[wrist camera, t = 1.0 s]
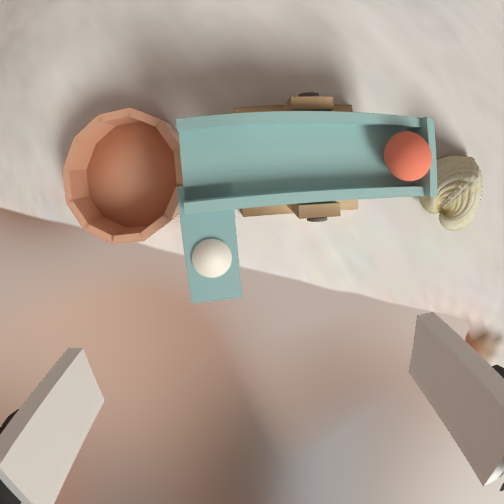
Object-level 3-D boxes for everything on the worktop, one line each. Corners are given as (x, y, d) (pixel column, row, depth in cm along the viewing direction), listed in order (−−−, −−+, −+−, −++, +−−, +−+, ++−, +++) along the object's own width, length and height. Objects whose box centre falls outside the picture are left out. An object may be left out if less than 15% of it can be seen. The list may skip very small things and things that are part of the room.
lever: (172, 124, 22) (167, 118, 19) (410, 121, 25) (433, 118, 21) (192, 298, 26) (191, 316, 23) (411, 267, 28) (432, 278, 25)
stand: (234, 109, 30) (229, 89, 21) (349, 106, 30) (384, 88, 21) (242, 215, 33) (241, 234, 24) (355, 208, 33) (391, 224, 24)
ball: (372, 131, 23) (408, 127, 19) (405, 134, 24) (439, 132, 21) (374, 180, 24) (410, 183, 20) (407, 179, 25) (442, 182, 22)
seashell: (404, 197, 30) (451, 141, 25) (414, 180, 37) (451, 136, 31) (455, 250, 29) (505, 200, 24) (457, 224, 35) (496, 182, 30)
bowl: (79, 128, 30) (59, 125, 26) (187, 107, 30) (178, 98, 26) (92, 237, 33) (73, 248, 29) (198, 227, 33) (191, 236, 29)
